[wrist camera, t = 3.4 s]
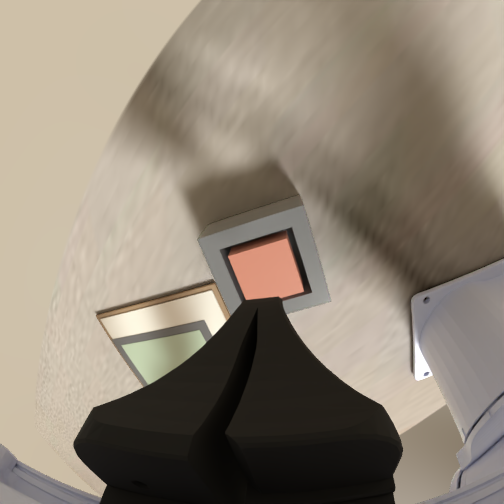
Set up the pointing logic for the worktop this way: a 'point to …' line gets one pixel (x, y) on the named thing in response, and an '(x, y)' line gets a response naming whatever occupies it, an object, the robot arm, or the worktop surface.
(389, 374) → the worktop surface
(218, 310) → the picture board
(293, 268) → the button
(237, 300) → the button housing
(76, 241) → the worktop surface
